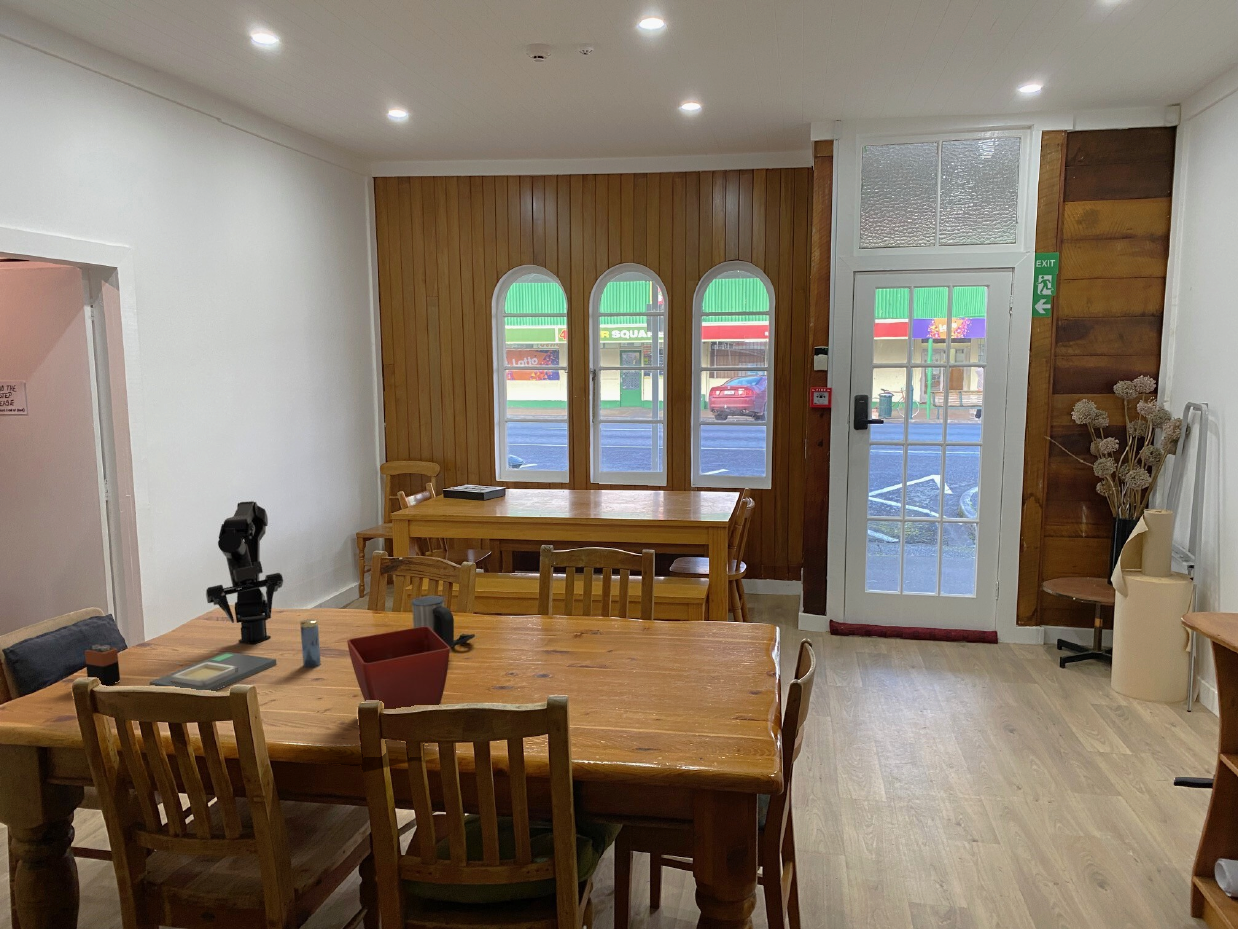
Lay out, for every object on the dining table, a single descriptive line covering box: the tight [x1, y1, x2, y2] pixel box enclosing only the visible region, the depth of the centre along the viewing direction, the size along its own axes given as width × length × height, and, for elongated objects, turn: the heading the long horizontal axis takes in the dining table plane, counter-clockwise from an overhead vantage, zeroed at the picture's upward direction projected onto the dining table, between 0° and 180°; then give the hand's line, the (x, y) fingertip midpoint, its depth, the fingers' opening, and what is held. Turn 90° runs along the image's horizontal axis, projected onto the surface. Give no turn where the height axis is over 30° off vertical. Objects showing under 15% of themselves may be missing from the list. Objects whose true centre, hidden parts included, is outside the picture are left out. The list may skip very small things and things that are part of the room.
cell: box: [299, 618, 322, 669], centre depth 232 cm, size 4×4×12 cm
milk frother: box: [410, 595, 476, 649], centre depth 242 cm, size 14×16×15 cm
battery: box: [84, 644, 121, 687], centre depth 222 cm, size 4×7×10 cm, turn 67°
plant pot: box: [346, 626, 451, 709], centre depth 197 cm, size 19×19×17 cm
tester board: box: [149, 651, 277, 692], centre depth 226 cm, size 24×18×3 cm
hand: (251, 618), depth 230 cm, fingers open, 9 cm apart
